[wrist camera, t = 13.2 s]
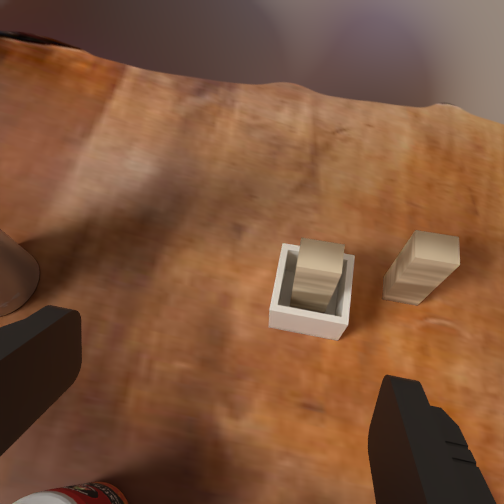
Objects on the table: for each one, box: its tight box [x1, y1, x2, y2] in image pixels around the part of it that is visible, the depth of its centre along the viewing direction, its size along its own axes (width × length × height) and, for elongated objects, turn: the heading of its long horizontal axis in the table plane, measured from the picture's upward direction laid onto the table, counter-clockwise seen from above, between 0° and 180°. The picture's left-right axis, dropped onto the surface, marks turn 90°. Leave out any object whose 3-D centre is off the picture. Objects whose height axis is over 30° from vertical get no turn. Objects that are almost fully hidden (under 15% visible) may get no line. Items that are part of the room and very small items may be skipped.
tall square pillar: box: [289, 238, 345, 314], centre depth 39 cm, size 3×4×11 cm
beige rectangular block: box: [382, 230, 460, 305], centre depth 40 cm, size 3×4×11 cm
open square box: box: [269, 243, 355, 341], centre depth 42 cm, size 8×8×6 cm
